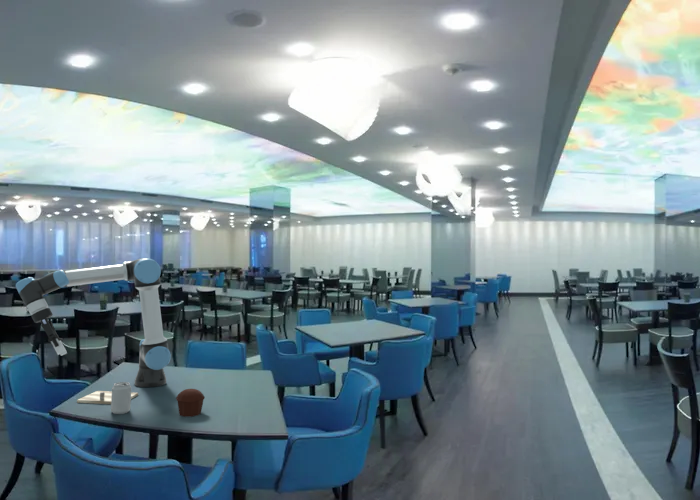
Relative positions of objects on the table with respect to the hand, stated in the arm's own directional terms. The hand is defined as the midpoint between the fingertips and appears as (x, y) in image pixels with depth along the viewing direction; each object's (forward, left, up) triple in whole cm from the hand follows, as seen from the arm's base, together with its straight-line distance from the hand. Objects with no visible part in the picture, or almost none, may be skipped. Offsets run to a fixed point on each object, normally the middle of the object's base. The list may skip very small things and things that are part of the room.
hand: (62, 354), depth 225 cm
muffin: (-49, +35, -22) cm, 64 cm away
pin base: (-19, 0, -21) cm, 29 cm away
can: (-23, +23, -22) cm, 39 cm away
